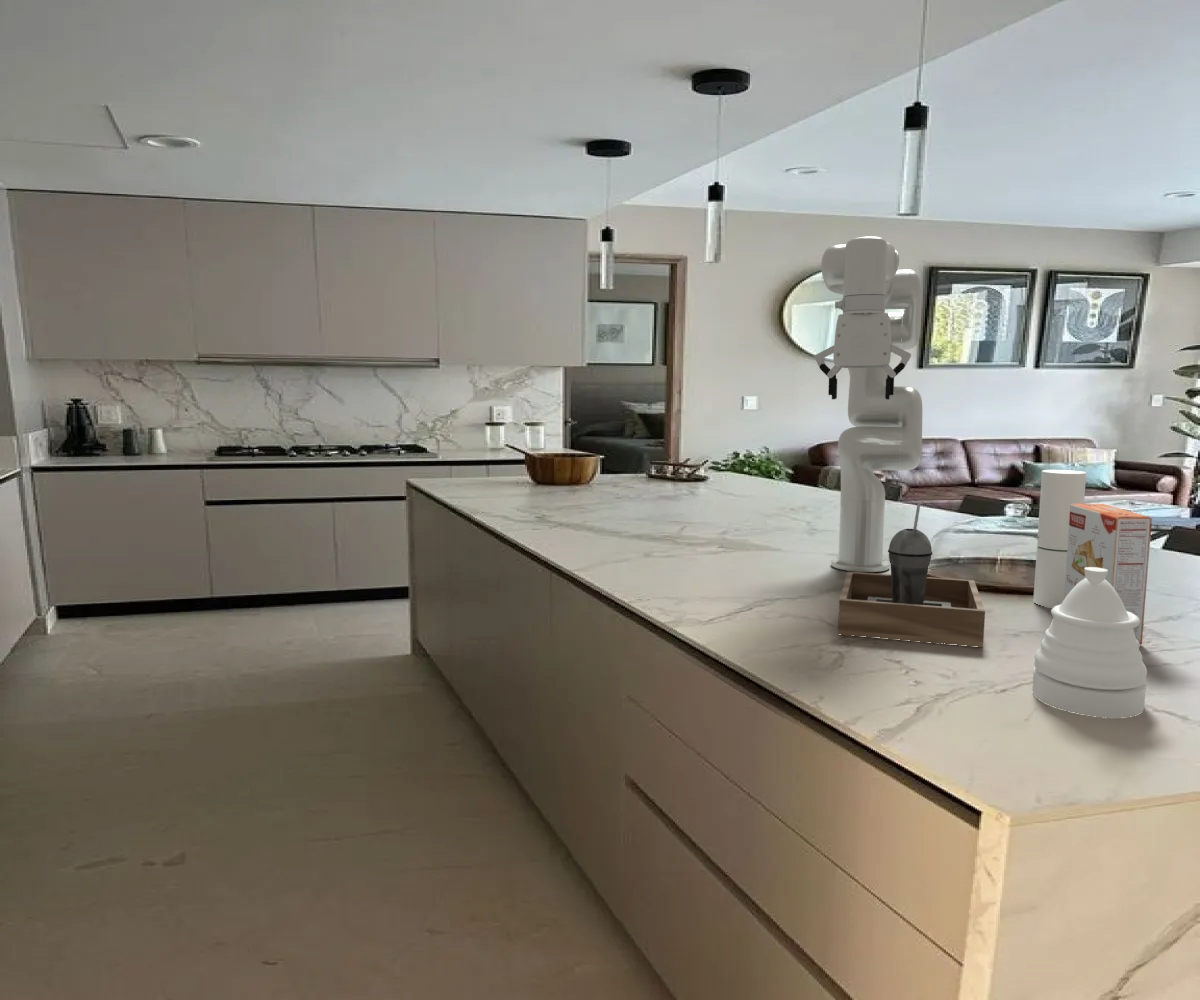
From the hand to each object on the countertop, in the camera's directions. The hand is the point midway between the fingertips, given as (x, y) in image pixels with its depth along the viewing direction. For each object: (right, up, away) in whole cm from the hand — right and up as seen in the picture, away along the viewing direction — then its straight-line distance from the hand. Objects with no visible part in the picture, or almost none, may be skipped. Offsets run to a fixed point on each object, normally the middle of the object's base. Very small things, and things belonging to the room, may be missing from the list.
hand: (860, 399), depth 160 cm
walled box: (+4, -41, -13) cm, 43 cm away
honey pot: (+15, -46, -48) cm, 68 cm away
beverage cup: (+4, -40, -13) cm, 42 cm away
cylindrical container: (+36, -39, -1) cm, 53 cm away
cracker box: (+34, -41, -19) cm, 57 cm away
